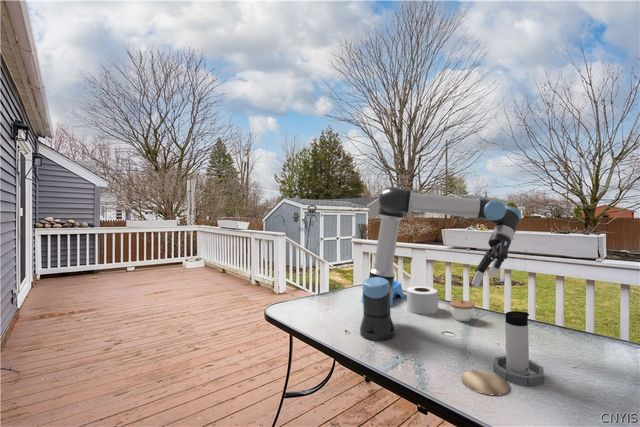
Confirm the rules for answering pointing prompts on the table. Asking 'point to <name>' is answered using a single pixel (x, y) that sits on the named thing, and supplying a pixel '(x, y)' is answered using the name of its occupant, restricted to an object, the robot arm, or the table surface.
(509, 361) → the travel mug
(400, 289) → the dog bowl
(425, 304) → the toilet paper roll
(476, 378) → the coaster
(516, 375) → the collar
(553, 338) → the table surface
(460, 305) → the lidded jar
